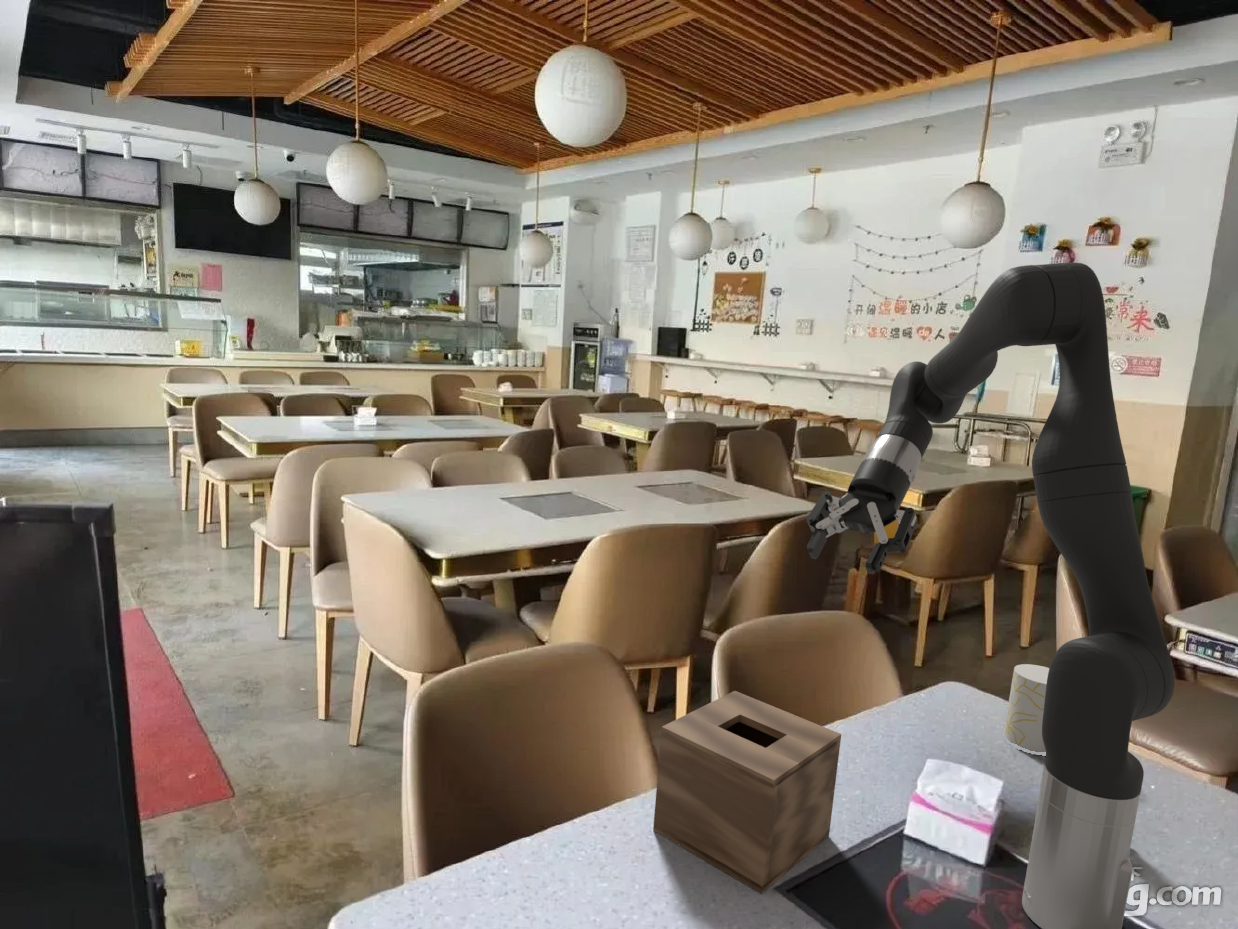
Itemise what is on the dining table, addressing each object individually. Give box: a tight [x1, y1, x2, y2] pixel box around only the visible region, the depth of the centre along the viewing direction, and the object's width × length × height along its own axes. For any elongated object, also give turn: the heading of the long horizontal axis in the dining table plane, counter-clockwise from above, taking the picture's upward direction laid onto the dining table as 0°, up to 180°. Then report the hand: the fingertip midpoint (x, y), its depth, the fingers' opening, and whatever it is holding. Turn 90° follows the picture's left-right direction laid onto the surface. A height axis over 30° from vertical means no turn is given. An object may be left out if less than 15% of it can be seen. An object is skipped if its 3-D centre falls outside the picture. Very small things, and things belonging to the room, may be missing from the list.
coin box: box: [652, 690, 842, 895], centre depth 102 cm, size 16×16×14 cm
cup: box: [1003, 663, 1050, 752], centre depth 132 cm, size 8×8×12 cm
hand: (839, 562), depth 111 cm, fingers open, 8 cm apart
